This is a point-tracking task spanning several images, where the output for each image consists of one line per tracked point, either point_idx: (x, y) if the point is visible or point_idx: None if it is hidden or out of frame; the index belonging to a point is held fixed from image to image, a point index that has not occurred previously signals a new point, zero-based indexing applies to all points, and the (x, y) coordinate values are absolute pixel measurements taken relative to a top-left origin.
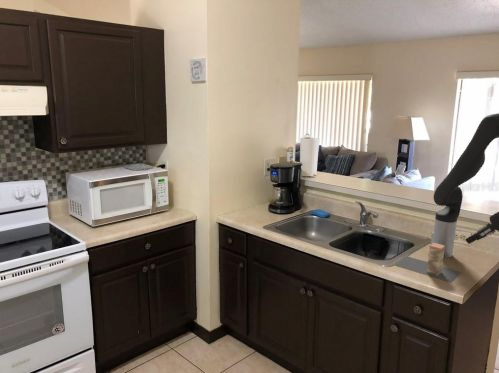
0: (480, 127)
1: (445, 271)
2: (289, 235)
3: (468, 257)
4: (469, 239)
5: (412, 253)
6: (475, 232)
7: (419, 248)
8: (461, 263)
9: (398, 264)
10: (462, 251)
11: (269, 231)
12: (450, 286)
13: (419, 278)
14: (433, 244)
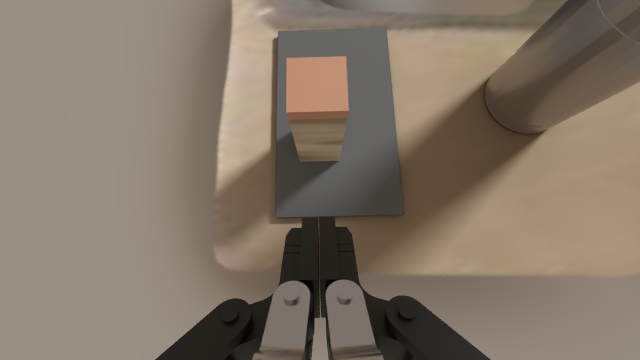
0: None
1: (357, 168)
2: None
3: (583, 181)
4: (284, 254)
5: (439, 30)
6: (341, 296)
7: (506, 28)
8: (497, 181)
9: (294, 38)
10: (624, 144)
11: None
12: (259, 221)
13: (249, 125)
14: (319, 63)
